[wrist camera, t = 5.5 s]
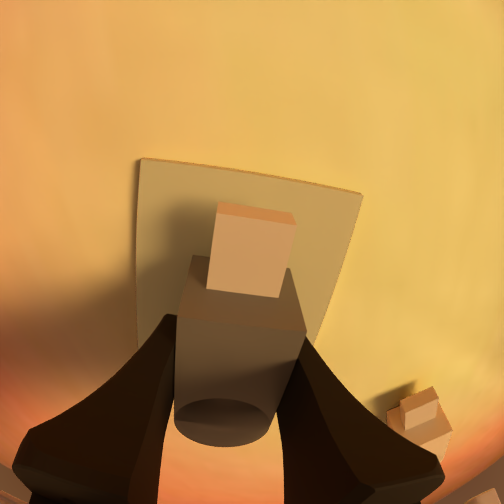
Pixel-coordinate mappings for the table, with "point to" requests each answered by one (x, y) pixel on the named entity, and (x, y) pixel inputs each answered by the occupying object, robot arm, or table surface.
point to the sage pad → (203, 222)
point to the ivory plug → (422, 422)
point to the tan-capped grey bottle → (237, 329)
